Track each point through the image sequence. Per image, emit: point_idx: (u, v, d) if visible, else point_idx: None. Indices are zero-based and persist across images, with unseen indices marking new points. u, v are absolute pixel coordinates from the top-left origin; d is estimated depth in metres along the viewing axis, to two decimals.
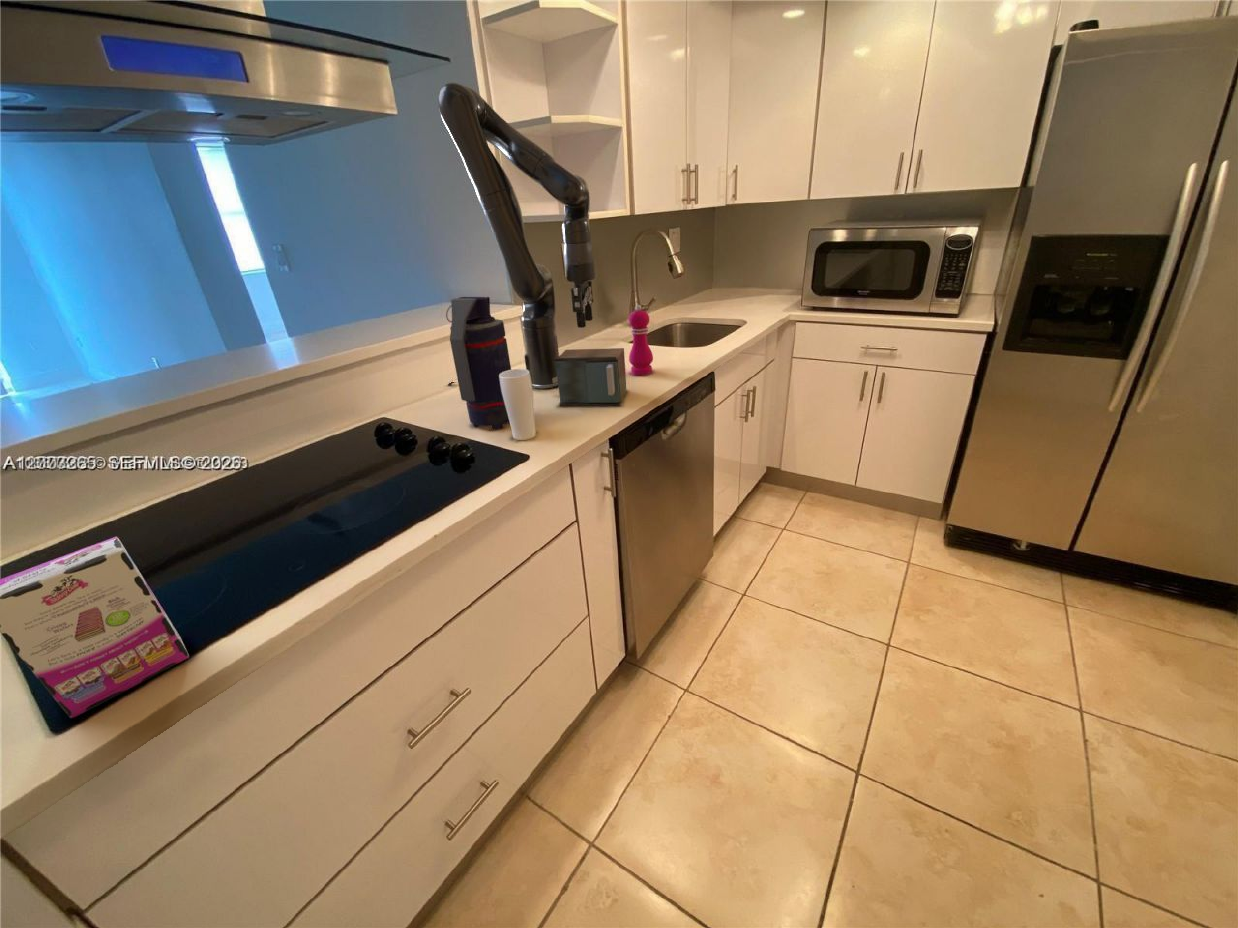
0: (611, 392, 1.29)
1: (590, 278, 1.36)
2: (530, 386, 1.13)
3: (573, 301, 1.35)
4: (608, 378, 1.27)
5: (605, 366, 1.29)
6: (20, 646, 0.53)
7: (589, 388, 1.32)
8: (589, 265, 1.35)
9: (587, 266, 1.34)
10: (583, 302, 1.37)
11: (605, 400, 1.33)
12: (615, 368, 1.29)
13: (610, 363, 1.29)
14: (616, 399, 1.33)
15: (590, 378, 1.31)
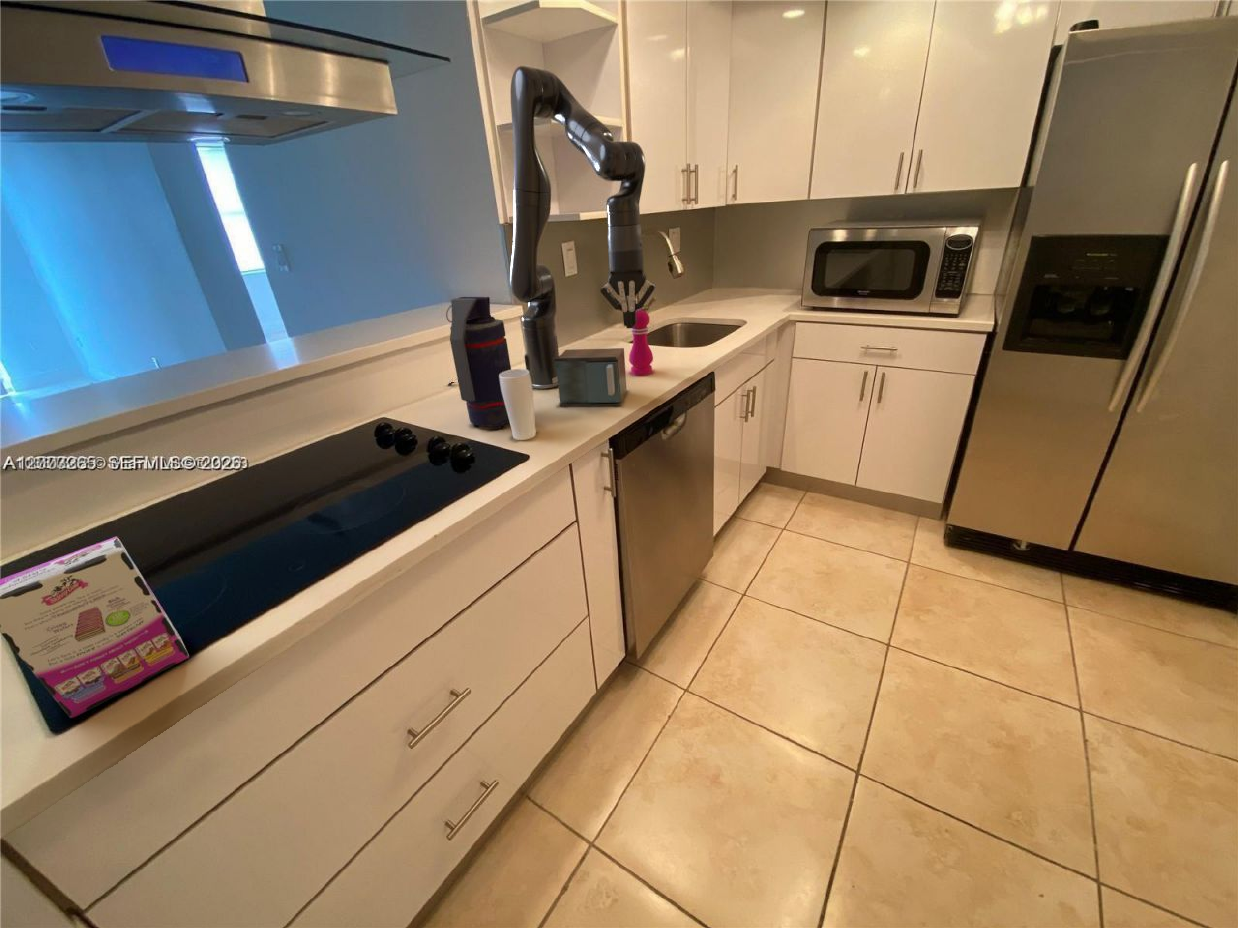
0: (611, 392, 1.29)
1: (615, 270, 1.14)
2: (530, 386, 1.13)
3: None
4: (608, 378, 1.27)
5: (605, 366, 1.29)
6: (20, 646, 0.53)
7: (589, 388, 1.32)
8: (614, 254, 1.12)
9: (612, 256, 1.13)
10: None
11: (605, 400, 1.33)
12: (615, 368, 1.29)
13: (610, 363, 1.29)
14: (616, 399, 1.33)
15: (590, 378, 1.31)
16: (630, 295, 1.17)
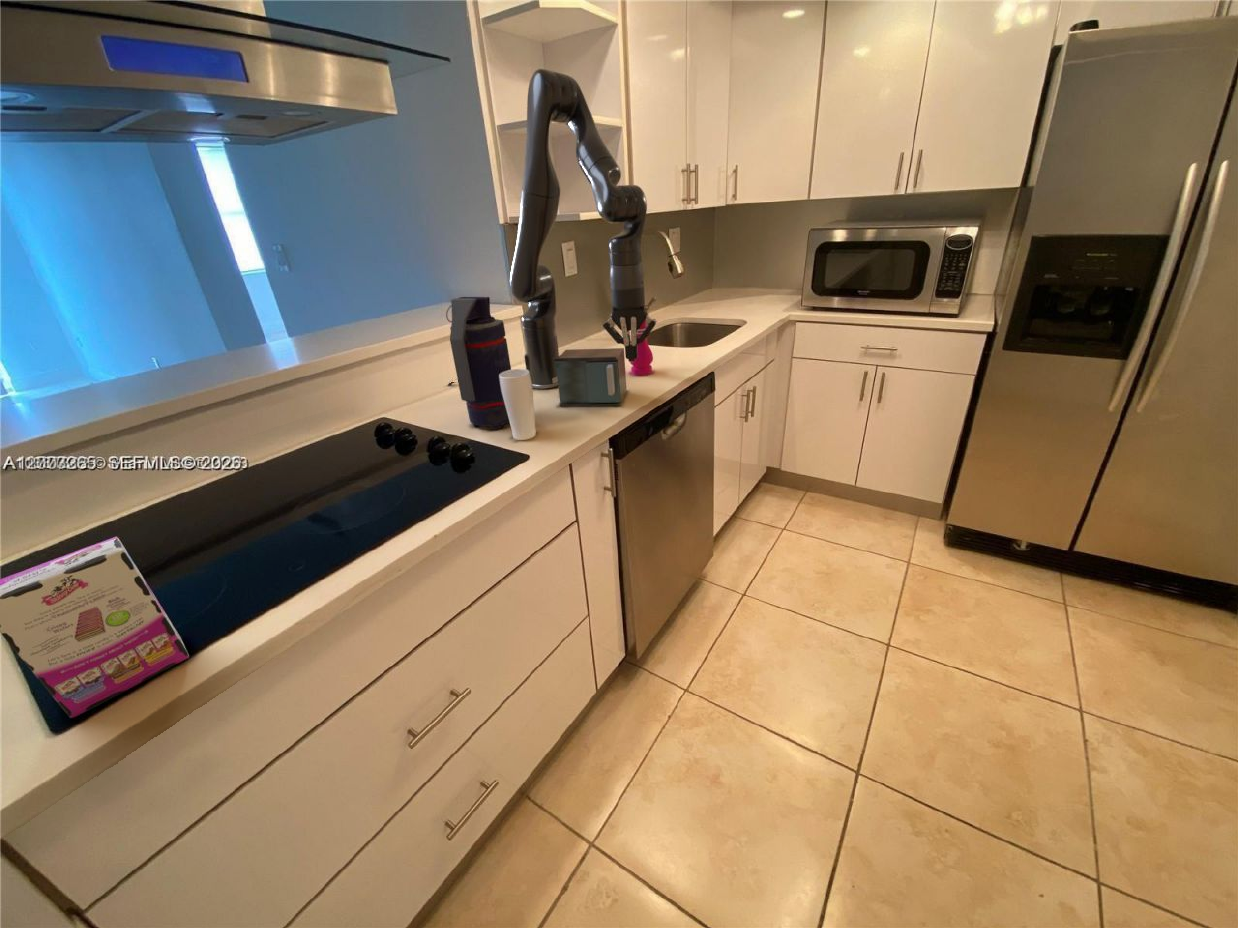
0: (611, 392, 1.29)
1: (617, 307, 1.17)
2: (530, 386, 1.13)
3: None
4: (608, 378, 1.27)
5: (605, 366, 1.29)
6: (20, 646, 0.53)
7: (589, 388, 1.32)
8: (616, 292, 1.16)
9: (614, 293, 1.16)
10: None
11: (605, 400, 1.33)
12: (615, 368, 1.29)
13: (610, 363, 1.29)
14: (616, 399, 1.33)
15: (590, 378, 1.31)
16: (632, 330, 1.20)
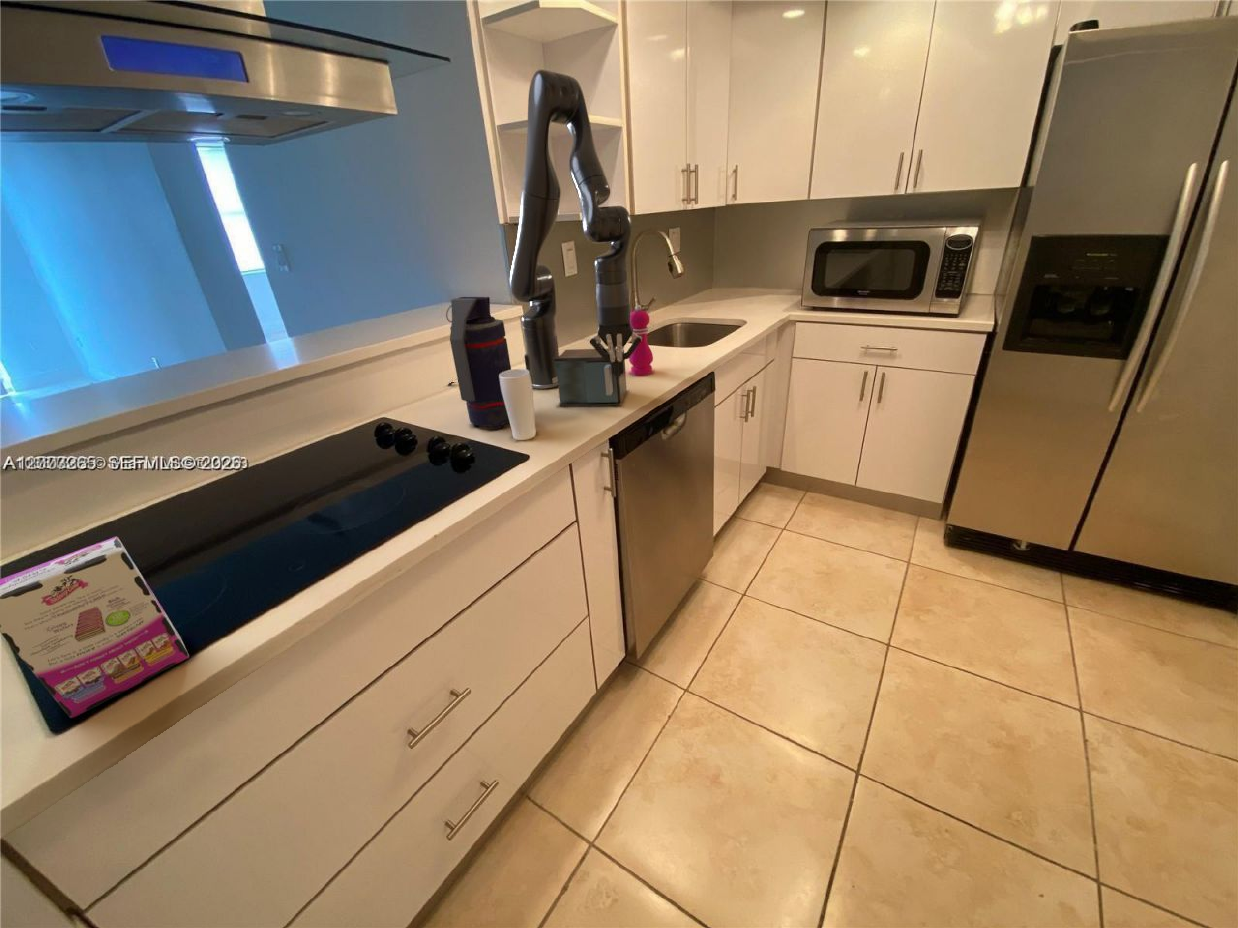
0: (609, 392, 1.29)
1: (603, 324, 1.19)
2: (530, 386, 1.13)
3: None
4: (606, 378, 1.27)
5: (603, 366, 1.29)
6: (20, 646, 0.53)
7: (587, 388, 1.33)
8: (602, 310, 1.18)
9: (600, 311, 1.19)
10: None
11: (603, 400, 1.33)
12: None
13: (608, 363, 1.29)
14: (614, 399, 1.33)
15: (588, 378, 1.31)
16: (618, 346, 1.23)
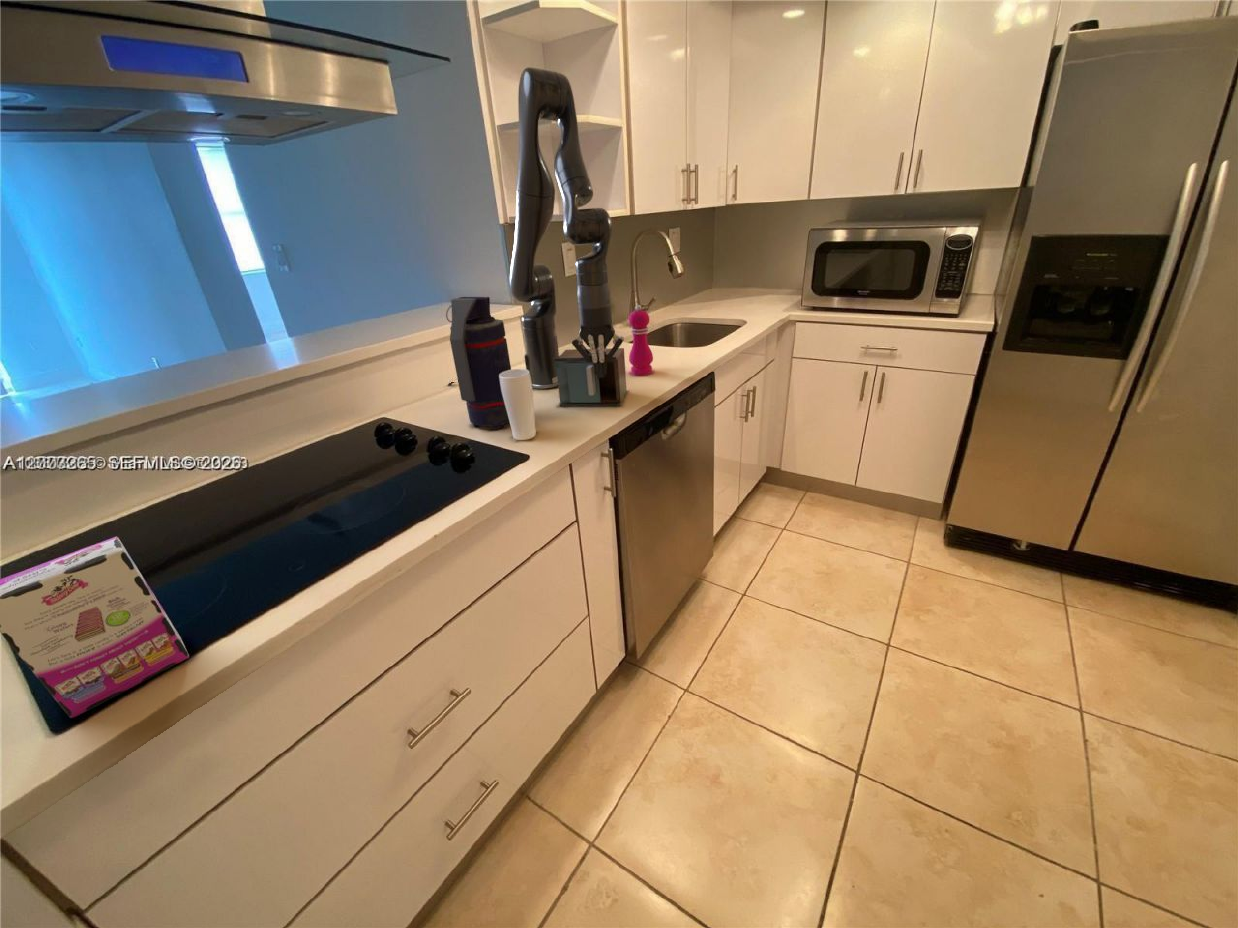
0: (592, 392, 1.30)
1: (584, 325, 1.20)
2: (530, 386, 1.13)
3: None
4: (588, 378, 1.28)
5: (586, 366, 1.30)
6: (20, 646, 0.53)
7: (570, 388, 1.33)
8: (583, 311, 1.19)
9: (581, 312, 1.19)
10: None
11: (586, 400, 1.34)
12: None
13: (590, 363, 1.29)
14: (597, 399, 1.34)
15: (571, 378, 1.32)
16: (600, 347, 1.24)
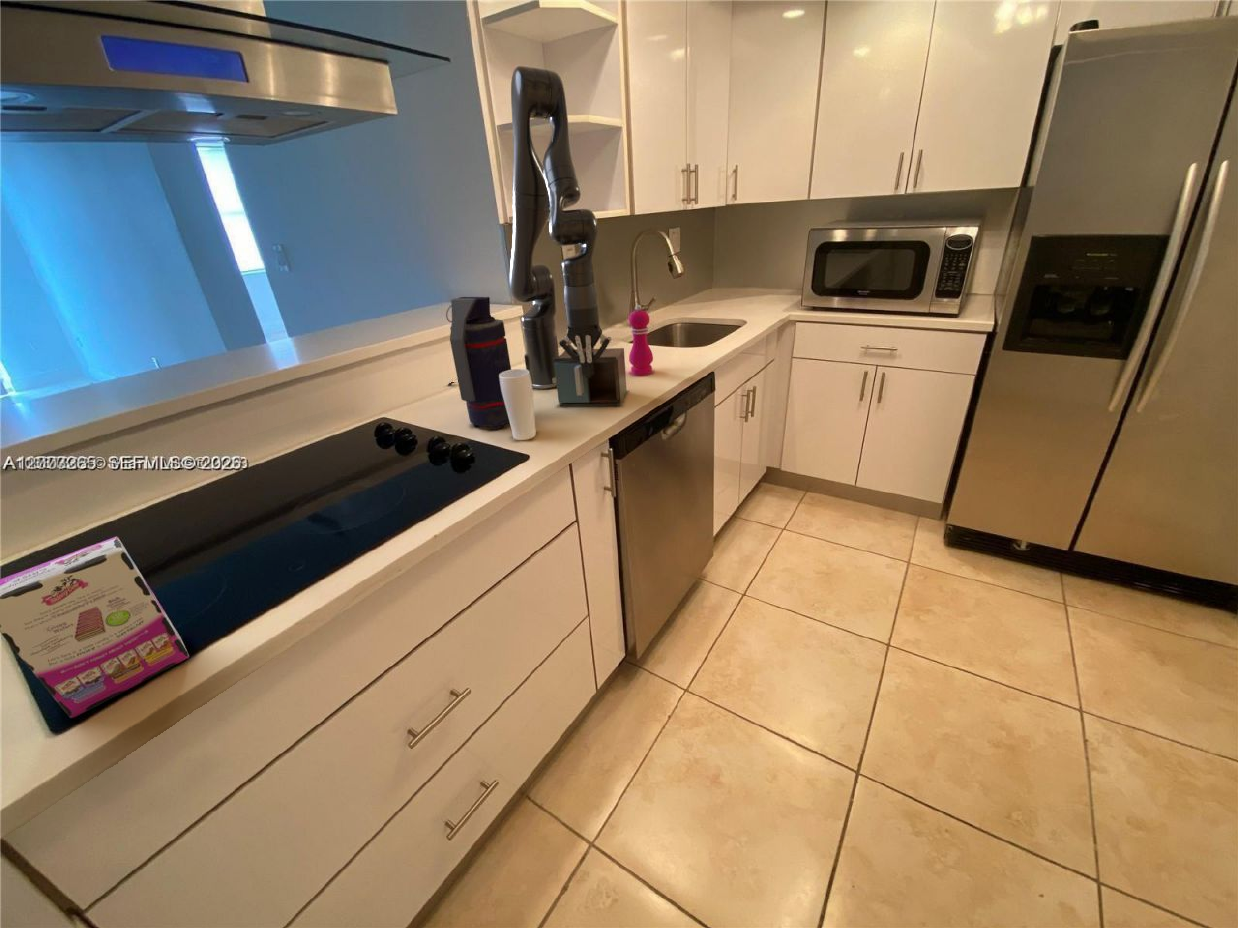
0: (580, 392, 1.30)
1: (571, 326, 1.21)
2: (530, 386, 1.13)
3: None
4: (576, 379, 1.29)
5: (574, 367, 1.31)
6: (20, 646, 0.53)
7: (558, 388, 1.34)
8: (570, 312, 1.19)
9: (568, 313, 1.20)
10: None
11: (575, 400, 1.35)
12: None
13: (578, 364, 1.30)
14: (585, 399, 1.34)
15: (559, 378, 1.33)
16: (587, 348, 1.24)
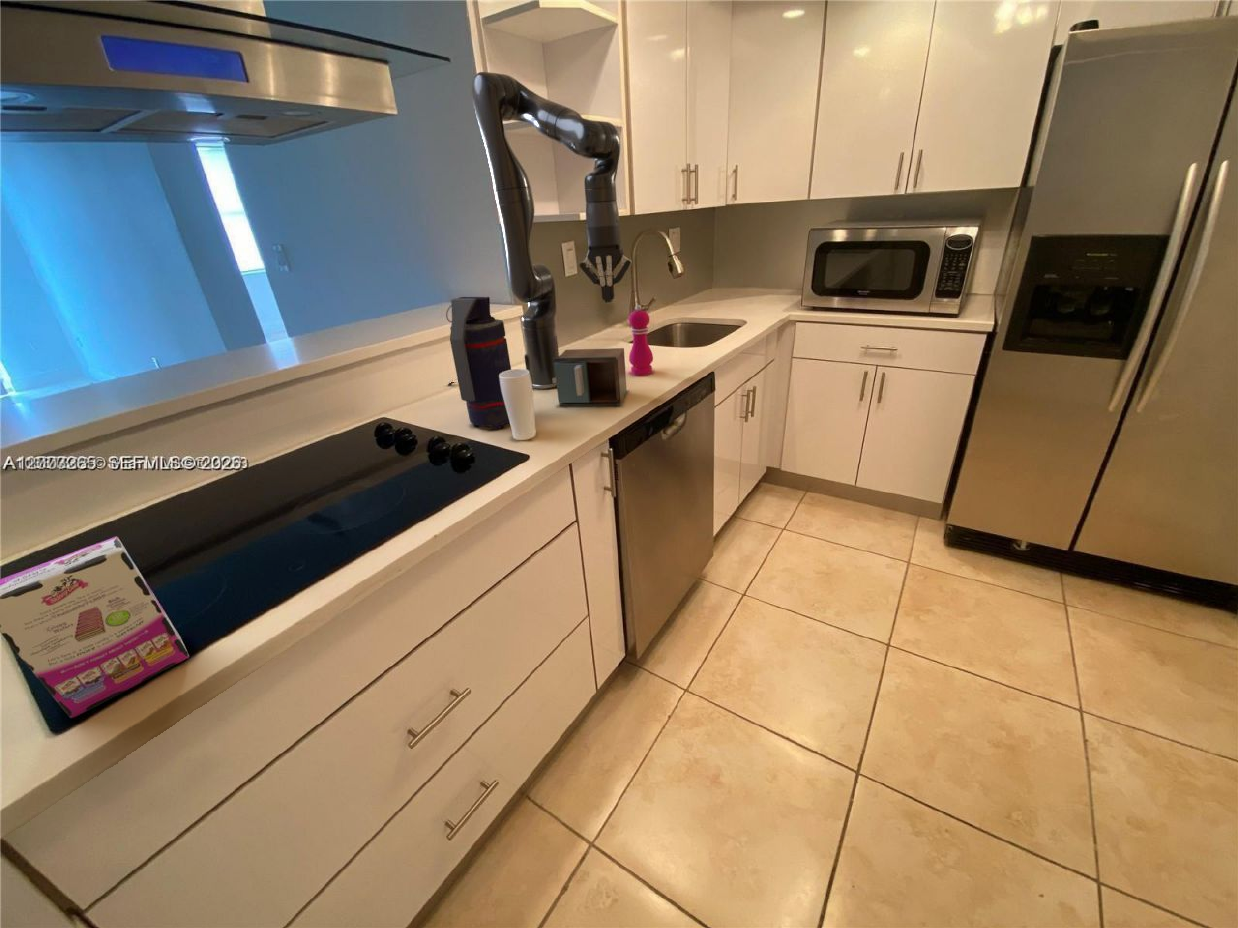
0: (580, 392, 1.30)
1: (592, 245, 1.19)
2: (530, 386, 1.13)
3: None
4: (576, 379, 1.29)
5: (574, 367, 1.31)
6: (20, 646, 0.53)
7: (558, 388, 1.34)
8: (591, 230, 1.18)
9: (590, 231, 1.18)
10: None
11: (575, 400, 1.35)
12: (583, 369, 1.30)
13: (578, 364, 1.30)
14: (585, 399, 1.34)
15: (559, 378, 1.33)
16: (607, 270, 1.22)
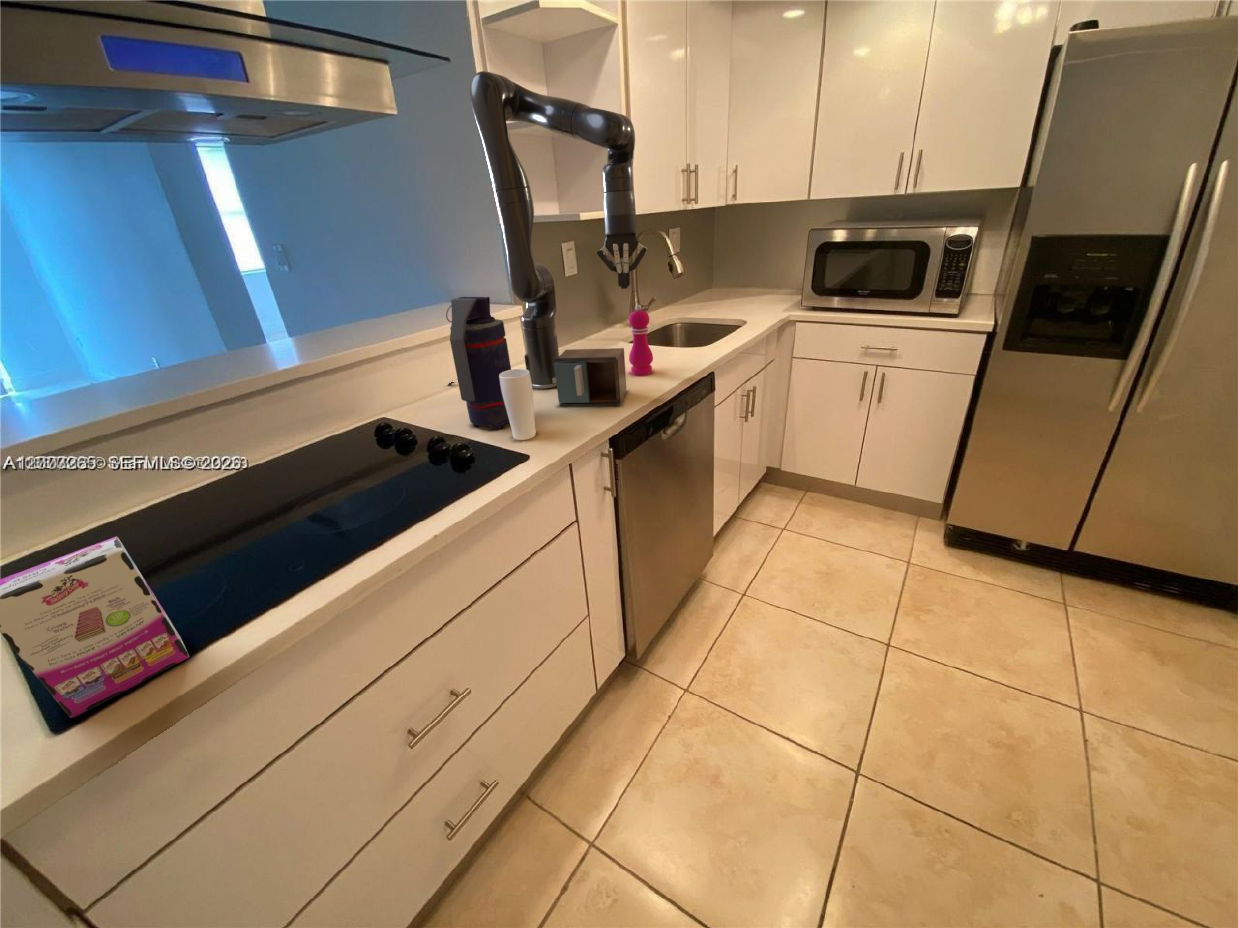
0: (580, 392, 1.30)
1: (610, 233, 1.24)
2: (530, 386, 1.13)
3: None
4: (576, 379, 1.29)
5: (574, 367, 1.31)
6: (20, 646, 0.53)
7: (558, 388, 1.34)
8: (609, 218, 1.22)
9: (607, 219, 1.23)
10: None
11: (575, 400, 1.35)
12: (583, 369, 1.30)
13: (578, 364, 1.30)
14: (585, 399, 1.34)
15: (559, 378, 1.33)
16: (624, 257, 1.27)
